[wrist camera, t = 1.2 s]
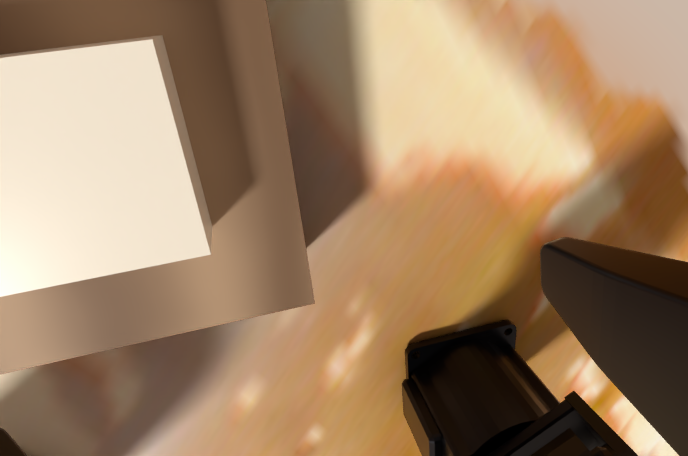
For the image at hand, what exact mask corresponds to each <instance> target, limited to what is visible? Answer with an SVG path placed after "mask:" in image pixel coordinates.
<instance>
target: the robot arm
mask: <svg viewBox="0 0 688 456" xmlns="http://www.w3.org/2000/svg"><path fill="white" fill-rule="evenodd" d="M540 269H541V286H542V290H543V292H544V294H545V296H546V297H547V299H548V300H549V301H550V303H551V304H552V305H553V307H554V308H555V310H556V311H557V312H558V314H559V315H560V316H561V318H562V319H563V320H564V322H565V323H566V324H567V326H568V327H569V328H570V330H571V331H572V332H573V334H574V335H575V336H576V338H577V339H578V341H579V342H580V343H581V345H582V346H583V347H584V349H585V350H586V351H587V353H588V354H589V355H590V357H591V358H592V359H593V360H594V362H595V363H596V364H597V365H598V367H599V368H600V369H601V370H602V371H603V372H604V374H605V375H606V376H607V377H608V378H609V379H610V380H611V381H612V383H613V384H614V385H615V386H616V387H617V388H618V389H619V390H620V391H621V392H622V393H623V395H624V396H625V397H626V398H627V399H628V400H629V401H630V402H631V403H632V404H633V406H634V407H635V408H636V409H637V410H638V411H639V412H640V413H641V414H642V415H643V416H644V418H645V419H646V420H647V421H648V422H649V423H650V424H651V425H652V426H653V427H654V428H655V430H656V431H657V432H658V433H659V434H660V435H661V436H662V437H663V438H664V439H665V441H666V442H667V443H668V444H669V445H670V446H671V447H672V448H673V449H674V450H675V451H676V453H677V454H678V455H679V456H688V262H684V261H679V260H675V259H670V258H665V257H660V256H655V255H650V254H646V253H641V252H636V251H631V250H626V249H621V248H617V247H612V246H607V245H602V244H597V243H592V242H588V241H583V240H578V239H573V238H568V237H563V238H559V239H556V240H554V241H551V242H548V243H545V244H544V245H543V246H542V247H541V250H540ZM506 329H507V330H506ZM515 340H516V327H515V325H514V324H513V323H512V322H511V321H509V320H505V321H501V322H497V323H493V324H489V325H485V326H481V327H477V328H473V329H469V330H465V331H461V332H457V333H453V334H449V335H445V336H441V337H437V338H433V339H429V340H425V341H421V342H416V343H413V344H410V345H409V346H408V347H407V348H406V349H405V364H406V379H405V380H404V381H403V383H402V396H403V412H404V416H405V418H406V420H407V423H408V425H409V427H410V429H411V432H412V434H413V436H414V438H415V441H416V443H417V445H418V447H419V450H420V452H421V454H422V456H638V455H637V454H636V453H635V452H634V451H633V450H632V449H631V448H630V447H629V446H628V445H627V444H626V443H625V442H624V441H623V440H622V439H621V438H620V437H619V436H618V435H617V434H616V433H615V432H614V431H613V430H612V429H611V428H610V427H609V426H608V425H607V424H606V423H605V422H604V421H603V420H602V419H601V418H600V417H599V416H598V415H597V414H596V413H595V412H594V411H593V410H592V409H591V408H590V406H589V405H588V404H587V403H586V402H585V401H584V400H583V399H582V398H581V397H580V396H579V395H578V394H577V393H576V392H575V391H573V392H571V393H570V394H568V395H567V396H566V397H564V398H565V400H564V401H562V402H561V403H560V402H559V401H558V400H557V399H556V397H555V396H554V395H553V394H552V393H551V391H550V390H549V389H548V388H547V387H546V386H545V384H544V383H543V382H542V381H541V380H540V379H539V377H538V376H537V375H536V374H535V373H534V372H533V370H532V369H531V368H530V367H529V366H528V365H527V363H526V362H525V361H524V360H523V359H522V358H521V356H520V355H519V354H518V353H517V352H516V351H515ZM414 352H416V353H415V354H413V353H414ZM0 456H27V455H26V454H25V453H24V452H23V450H22V449H21V448H20V447H19V446H18V445H17V444H16V442H15V441H14V440H13V439H12V438H11V437H10V435H9V434H8V433H7V432H6V431H5V430H4V429H2V428H0Z"/></svg>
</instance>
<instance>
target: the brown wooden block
mask: <svg viewBox="0 0 688 456" xmlns="http://www.w3.org/2000/svg"><path fill="white" fill-rule="evenodd" d="M159 35H162V36H163V40H164V44H165V48H166V52H167V55H168V59H169V63H170V67H171V71H172V74H173V78H174V82H175V86H176V90H177V94H178V97H179V101H180V105H181V109H182V113H183V116H184V120H185V124H186V128H187V132H188V136H189V139H190V143H191V147H192V151H193V155H194V158H195V162H196V166H197V170H198V174H199V178H200V181H201V185H202V189H203V193H204V197H205V201H206V204H207V208H208V212H209V216H210V220H211V223H212V243H211V255H207V256H202V257H197V258H192V259H187V260H182V261H177V262H172V263H167V264H162V265H157V266H152V267H147V268H142V269H137V270H132V271H127V272H122V273H117V274H112V275H107V276H102V277H97V278H92V279H87V280H82V281H77V282H72V283H67V284H62V285H57V286H52V287H47V288H42V289H37V290H32V291H27V292H22V293H17V294H12V295H7V296H2V297H0V374H4V373H9V372H13V371H18V370H22V369H26V368H31V367H35V366H40V365H44V364H49V363H53V362H57V361H62V360H66V359H71V358H75V357H80V356H84V355H88V354H93V353H97V352H102V351H106V350H111V349H115V348H119V347H124V346H128V345H133V344H137V343H142V342H146V341H151V340H155V339H159V338H164V337H168V336H173V335H177V334H182V333H186V332H190V331H195V330H199V329H204V328H208V327H213V326H217V325H221V324H226V323H230V322H235V321H239V320H244V319H248V318H252V317H257V316H261V315H266V314H270V313H275V312H279V311H283V310H288V309H292V308H297V307H301V306H306V305H310V304H314V303H315V301H314V295H313V288H312V282H311V276H310V270H309V264H308V257H307V251H306V245H305V239H304V233H303V227H302V220H301V214H300V208H299V202H298V196H297V189H296V183H295V177H294V171H293V165H292V158H291V152H290V146H289V140H288V134H287V127H286V121H285V115H284V109H283V103H282V97H281V90H280V84H279V78H278V72H277V66H276V59H275V53H274V47H273V41H272V35H271V28H270V22H269V16H268V10H267V4H266V0H0V55H3V54H11V53H19V52H28V51H36V50H44V49H52V48H60V47H69V46H77V45H85V44H93V43H101V42H109V41H118V40H126V39H134V38H142V37H150V36H159Z"/></svg>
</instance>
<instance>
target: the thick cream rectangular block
mask: <svg viewBox="0 0 688 456" xmlns="http://www.w3.org/2000/svg"><path fill="white" fill-rule="evenodd" d="M211 243H212V223H211V220H210V216H209V212H208V208H207V204H206V201H205V197H204V193H203V189H202V185H201V181H200V178H199V174H198V170H197V166H196V162H195V158H194V155H193V151H192V147H191V143H190V139H189V136H188V132H187V128H186V124H185V120H184V116H183V113H182V109H181V105H180V101H179V97H178V94H177V90H176V86H175V82H174V78H173V74H172V71H171V67H170V63H169V59H168V55H167V52H166V48H165V44H164V40H163V36H162V35H159V36H150V37H142V38H134V39H126V40H118V41H109V42H101V43H93V44H85V45H77V46H69V47H60V48H52V49H44V50H36V51H28V52H19V53H11V54H3V55H0V297H2V296H7V295H12V294H17V293H22V292H27V291H32V290H37V289H42V288H47V287H52V286H57V285H62V284H67V283H72V282H77V281H82V280H87V279H92V278H97V277H102V276H107V275H112V274H117V273H122V272H127V271H132V270H137V269H142V268H147V267H152V266H157V265H162V264H167V263H172V262H177V261H182V260H187V259H192V258H197V257H202V256H207V255H211Z"/></svg>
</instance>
